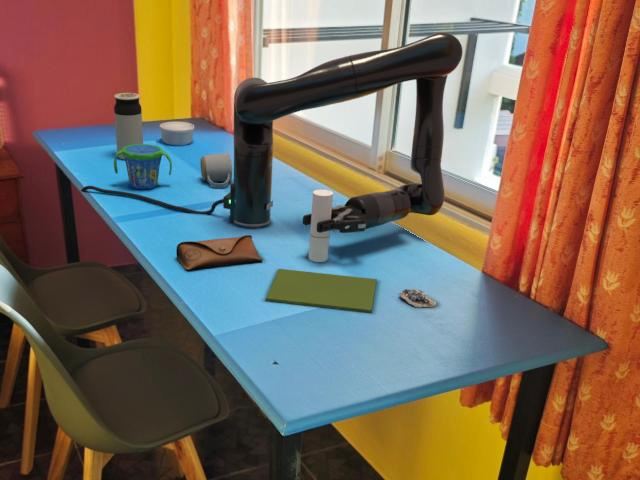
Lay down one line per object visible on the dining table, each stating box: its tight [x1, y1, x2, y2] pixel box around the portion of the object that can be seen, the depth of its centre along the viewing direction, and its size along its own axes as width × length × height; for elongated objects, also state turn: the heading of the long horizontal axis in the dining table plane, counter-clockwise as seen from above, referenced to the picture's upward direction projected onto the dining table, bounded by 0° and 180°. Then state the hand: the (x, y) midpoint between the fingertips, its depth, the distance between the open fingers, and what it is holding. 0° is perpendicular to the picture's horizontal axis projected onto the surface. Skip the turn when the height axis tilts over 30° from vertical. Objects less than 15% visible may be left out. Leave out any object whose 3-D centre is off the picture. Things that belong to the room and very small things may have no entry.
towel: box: [265, 268, 378, 314], centre depth 158 cm, size 21×15×1 cm
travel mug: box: [113, 92, 144, 161], centre depth 231 cm, size 8×8×18 cm
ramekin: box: [159, 121, 195, 146], centre depth 250 cm, size 11×11×5 cm
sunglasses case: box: [175, 234, 263, 271], centre depth 170 cm, size 18×7×7 cm, turn 112°
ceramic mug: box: [200, 152, 233, 189], centre depth 215 cm, size 11×8×8 cm
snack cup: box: [113, 143, 173, 190], centre depth 210 cm, size 16×10×10 cm
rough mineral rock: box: [397, 288, 437, 308], centre depth 155 cm, size 7×8×2 cm
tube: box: [308, 189, 334, 263], centre depth 169 cm, size 4×4×15 cm
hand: (311, 224), depth 167 cm, fingers closed on tube, 4 cm apart
